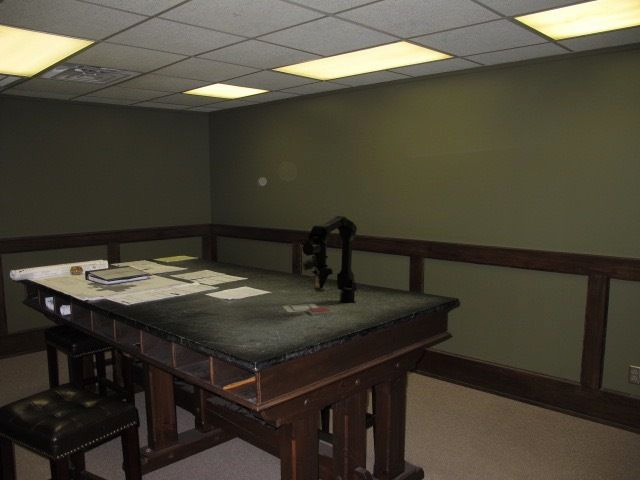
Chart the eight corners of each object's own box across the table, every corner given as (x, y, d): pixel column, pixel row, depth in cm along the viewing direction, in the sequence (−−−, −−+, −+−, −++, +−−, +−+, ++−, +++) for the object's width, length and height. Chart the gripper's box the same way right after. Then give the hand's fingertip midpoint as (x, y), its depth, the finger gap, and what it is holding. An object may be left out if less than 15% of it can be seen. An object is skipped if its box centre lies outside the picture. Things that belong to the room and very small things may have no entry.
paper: (313, 304, 248) (313, 303, 248) (321, 310, 237) (321, 309, 237) (281, 306, 244) (281, 305, 244) (287, 312, 232) (287, 311, 232)
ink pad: (327, 309, 238) (327, 306, 238) (332, 313, 230) (332, 310, 230) (306, 311, 235) (306, 308, 235) (311, 315, 227) (311, 312, 227)
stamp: (323, 289, 235) (323, 273, 234) (326, 291, 230) (326, 274, 229) (312, 289, 233) (313, 273, 233) (316, 291, 229) (316, 275, 228)
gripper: (297, 251, 236) (297, 284, 238) (308, 256, 219) (308, 292, 220) (320, 250, 240) (320, 283, 241) (333, 255, 222) (332, 290, 224)
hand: (319, 287), depth 232 cm, fingers closed on stamp, 4 cm apart
